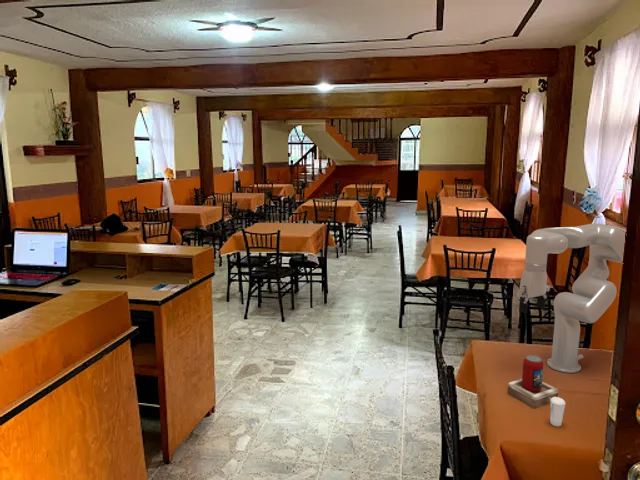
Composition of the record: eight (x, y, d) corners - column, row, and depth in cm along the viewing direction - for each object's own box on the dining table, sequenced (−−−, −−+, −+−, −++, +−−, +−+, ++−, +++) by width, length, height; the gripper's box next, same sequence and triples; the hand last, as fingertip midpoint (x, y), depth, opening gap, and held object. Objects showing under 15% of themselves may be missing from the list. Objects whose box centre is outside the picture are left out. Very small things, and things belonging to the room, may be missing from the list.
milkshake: (543, 420, 164) (545, 393, 162) (558, 419, 164) (560, 392, 162) (550, 428, 159) (553, 400, 158) (566, 427, 160) (568, 399, 158)
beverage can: (539, 395, 175) (542, 363, 172) (519, 390, 178) (522, 359, 176) (542, 387, 180) (545, 356, 178) (523, 382, 184) (525, 352, 181)
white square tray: (529, 385, 187) (530, 375, 186) (557, 400, 177) (558, 389, 176) (507, 393, 182) (508, 382, 181) (534, 408, 171) (535, 397, 171)
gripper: (542, 262, 192) (539, 303, 195) (511, 267, 184) (508, 310, 187) (559, 266, 185) (555, 309, 188) (527, 272, 177) (524, 317, 181)
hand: (531, 310), depth 188 cm, fingers open, 9 cm apart
